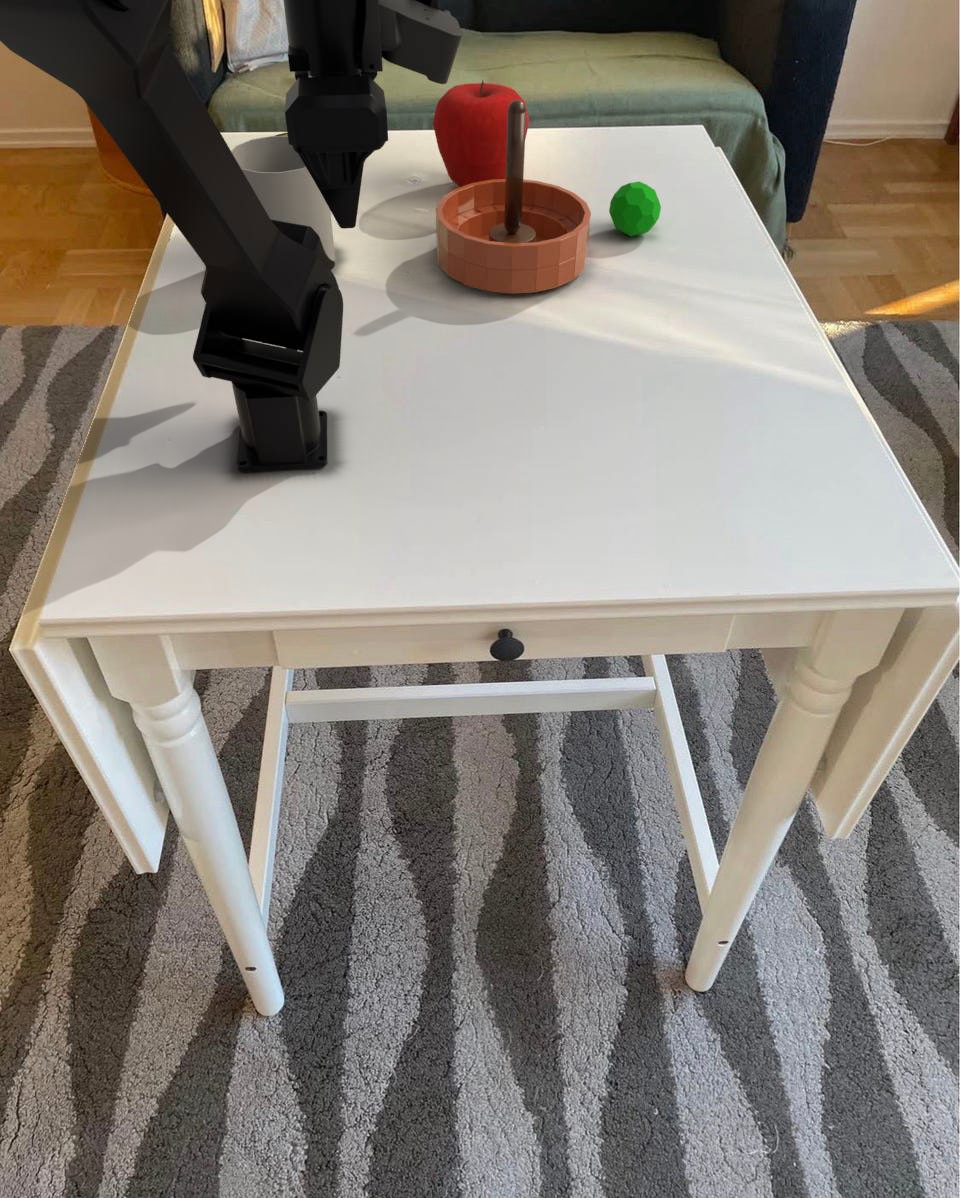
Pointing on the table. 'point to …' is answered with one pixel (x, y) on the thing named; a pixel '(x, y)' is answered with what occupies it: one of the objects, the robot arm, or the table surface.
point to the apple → (474, 131)
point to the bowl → (512, 264)
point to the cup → (285, 186)
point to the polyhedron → (635, 208)
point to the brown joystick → (514, 181)
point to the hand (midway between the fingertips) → (346, 199)
